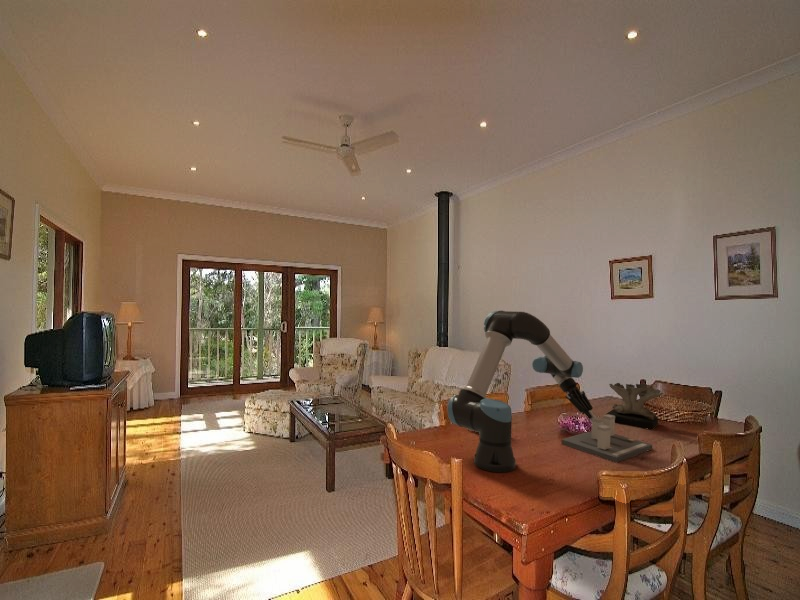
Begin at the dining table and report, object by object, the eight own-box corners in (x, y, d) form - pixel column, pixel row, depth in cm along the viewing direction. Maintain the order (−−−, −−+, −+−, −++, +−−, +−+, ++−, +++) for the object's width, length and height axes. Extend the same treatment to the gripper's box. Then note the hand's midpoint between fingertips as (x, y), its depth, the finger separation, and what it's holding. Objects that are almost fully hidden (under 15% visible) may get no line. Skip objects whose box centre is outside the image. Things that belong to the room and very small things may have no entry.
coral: (666, 425, 206) (667, 383, 207) (656, 434, 192) (657, 389, 192) (612, 415, 224) (613, 376, 224) (600, 423, 209) (601, 381, 209)
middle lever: (598, 440, 175) (598, 420, 175) (591, 438, 178) (591, 418, 178) (603, 438, 177) (603, 418, 178) (596, 436, 180) (596, 416, 180)
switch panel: (616, 462, 157) (616, 457, 157) (561, 443, 177) (561, 439, 177) (652, 449, 172) (652, 444, 172) (597, 433, 192) (598, 429, 192)
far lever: (609, 436, 180) (610, 417, 180) (602, 434, 183) (603, 415, 183) (614, 435, 182) (615, 415, 182) (607, 433, 185) (608, 414, 185)
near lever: (604, 449, 163) (605, 428, 164) (597, 447, 166) (597, 426, 166) (610, 448, 166) (610, 426, 166) (602, 445, 168) (603, 424, 168)
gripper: (568, 384, 207) (599, 426, 193) (552, 387, 200) (583, 430, 186) (578, 375, 203) (610, 417, 189) (562, 378, 196) (594, 422, 182)
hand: (597, 424), depth 187 cm, fingers closed
